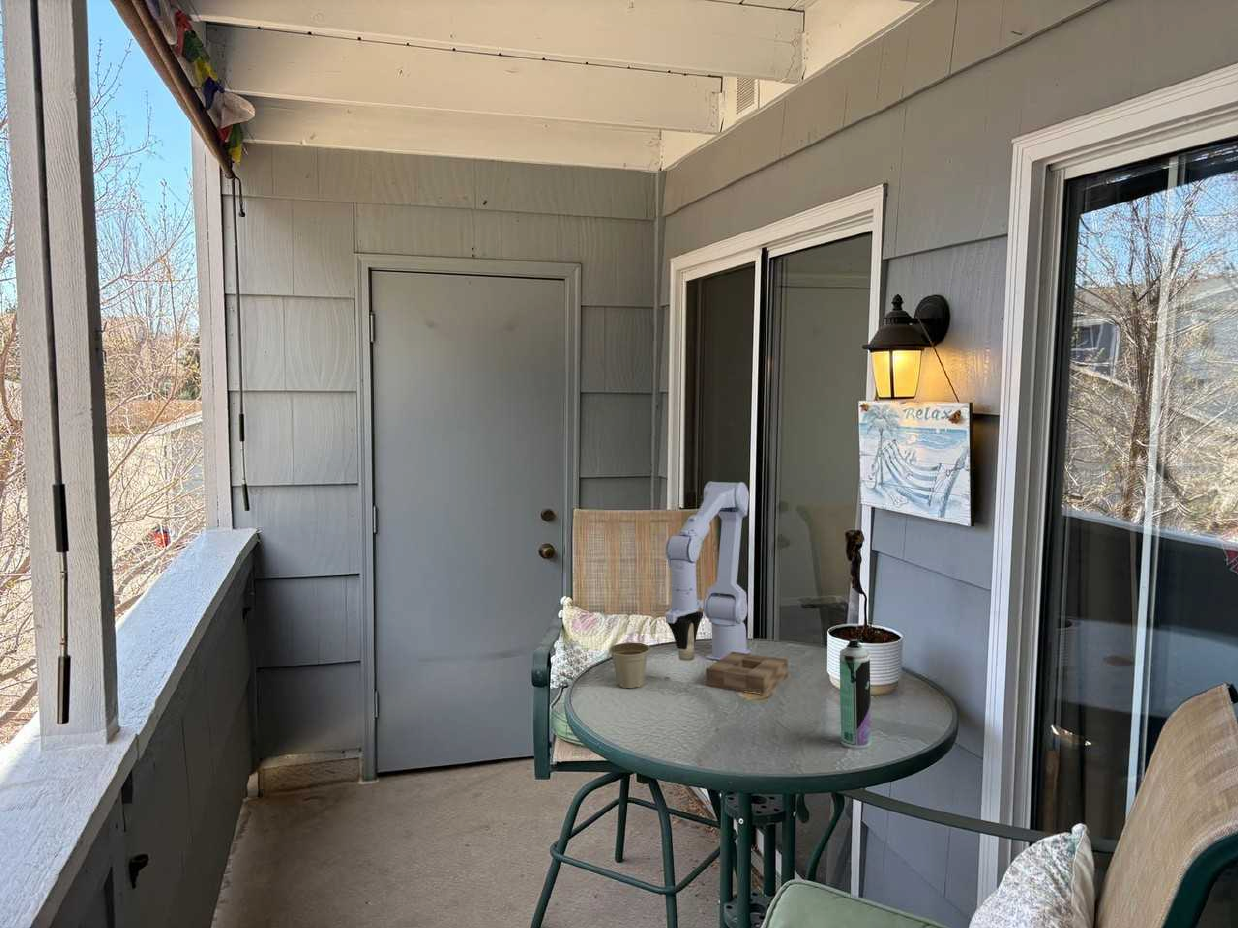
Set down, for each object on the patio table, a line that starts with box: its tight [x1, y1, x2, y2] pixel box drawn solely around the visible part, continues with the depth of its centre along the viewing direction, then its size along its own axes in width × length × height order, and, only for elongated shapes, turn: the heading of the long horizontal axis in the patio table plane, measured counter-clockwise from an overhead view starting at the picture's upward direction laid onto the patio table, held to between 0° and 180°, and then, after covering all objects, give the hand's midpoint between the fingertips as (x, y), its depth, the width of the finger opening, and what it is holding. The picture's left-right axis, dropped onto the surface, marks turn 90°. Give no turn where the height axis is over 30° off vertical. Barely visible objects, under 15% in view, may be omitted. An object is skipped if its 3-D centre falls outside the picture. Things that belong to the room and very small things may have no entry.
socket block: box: [705, 652, 789, 694], centre depth 195 cm, size 14×14×4 cm
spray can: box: [839, 638, 872, 750], centre depth 158 cm, size 6×6×20 cm
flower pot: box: [608, 641, 651, 689], centre depth 195 cm, size 9×9×9 cm
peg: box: [678, 623, 695, 662], centre depth 195 cm, size 4×4×8 cm
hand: (686, 645), depth 195 cm, fingers closed on peg, 4 cm apart
